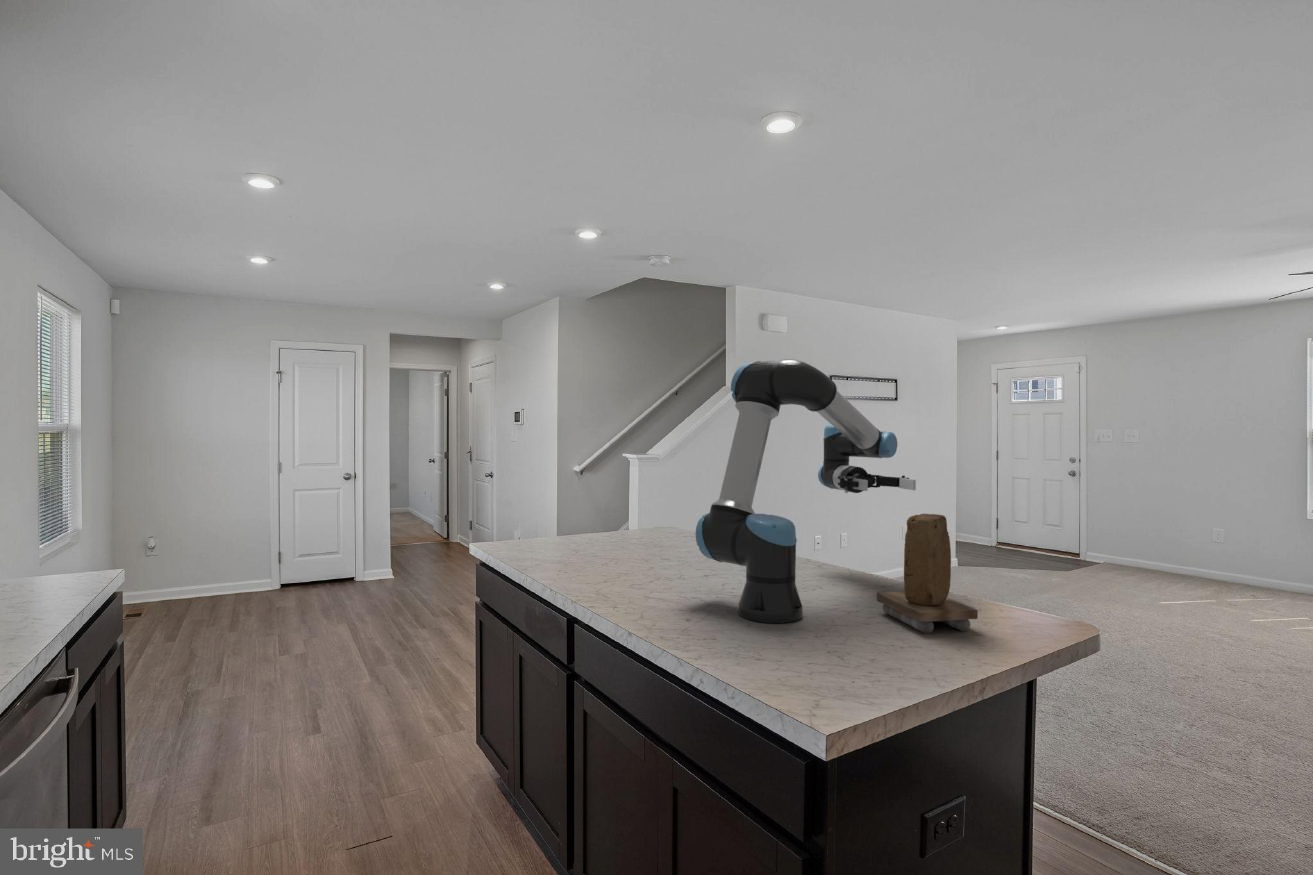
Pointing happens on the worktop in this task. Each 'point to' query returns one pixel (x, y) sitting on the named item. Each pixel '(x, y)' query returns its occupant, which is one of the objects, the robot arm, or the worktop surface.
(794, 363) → the robot arm
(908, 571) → the block
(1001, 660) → the worktop surface
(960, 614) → the slab
